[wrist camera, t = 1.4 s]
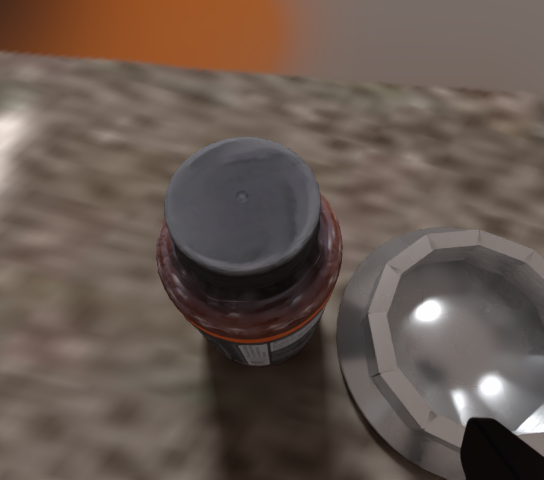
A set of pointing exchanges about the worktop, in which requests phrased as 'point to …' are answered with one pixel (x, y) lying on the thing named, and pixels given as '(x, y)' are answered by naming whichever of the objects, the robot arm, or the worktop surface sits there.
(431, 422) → the faceted metal ring
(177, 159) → the worktop surface
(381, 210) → the worktop surface
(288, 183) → the supplement bottle
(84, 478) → the worktop surface
